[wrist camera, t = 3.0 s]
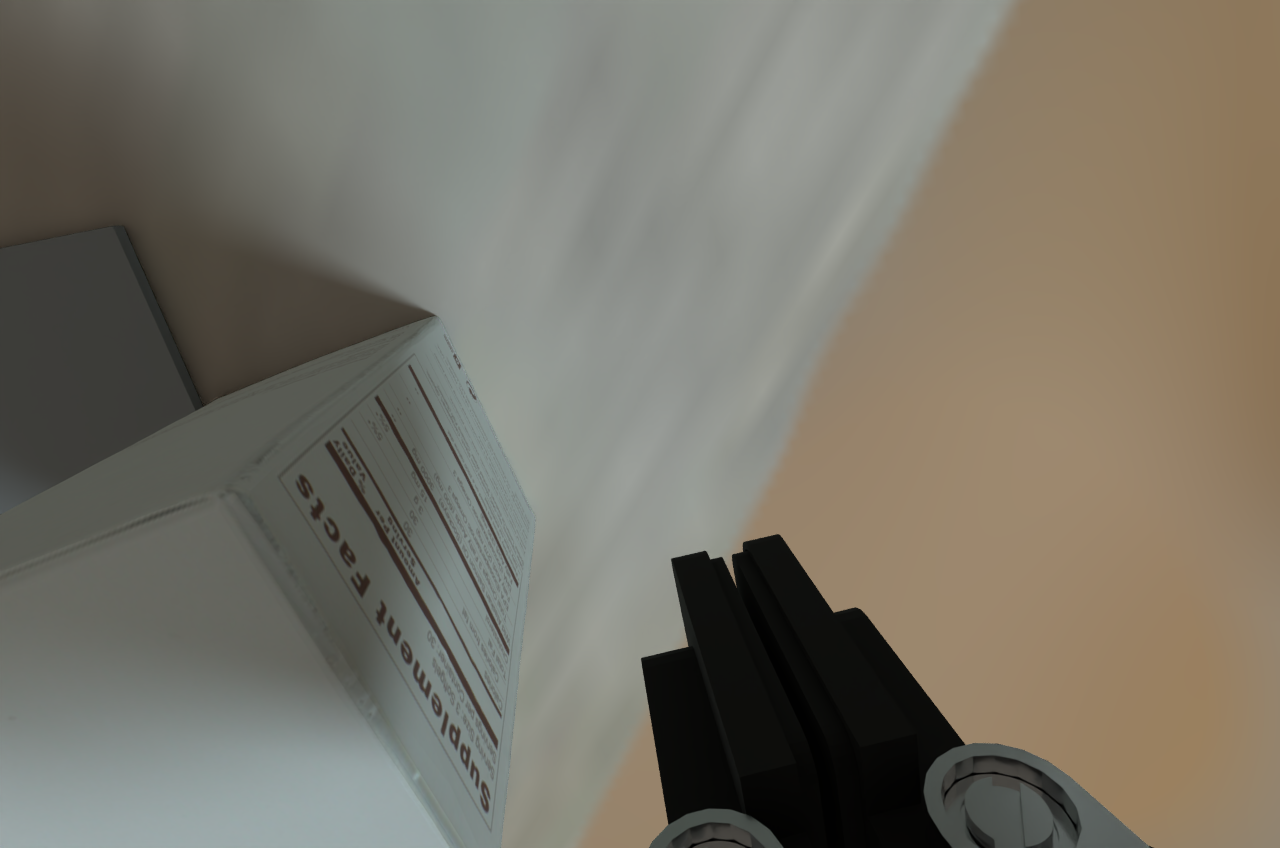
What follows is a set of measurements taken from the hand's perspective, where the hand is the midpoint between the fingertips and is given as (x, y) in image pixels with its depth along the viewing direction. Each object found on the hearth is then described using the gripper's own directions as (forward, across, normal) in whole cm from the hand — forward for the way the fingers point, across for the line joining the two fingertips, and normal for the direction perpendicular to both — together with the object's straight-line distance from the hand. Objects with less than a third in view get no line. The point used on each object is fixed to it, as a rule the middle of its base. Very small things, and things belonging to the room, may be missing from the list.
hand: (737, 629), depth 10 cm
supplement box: (+11, +8, 0) cm, 14 cm away
